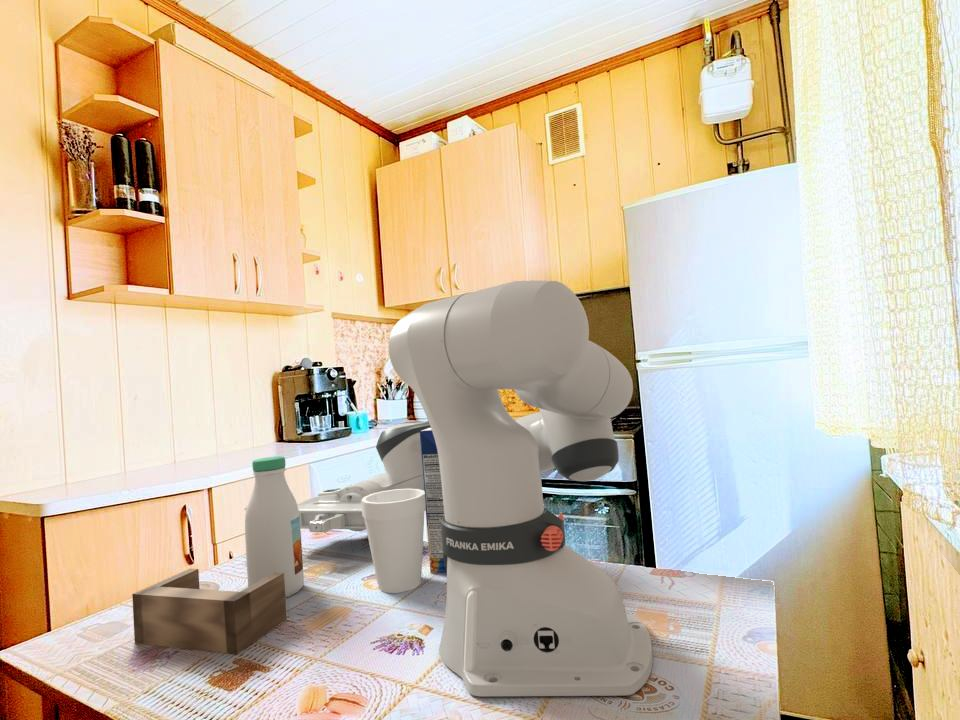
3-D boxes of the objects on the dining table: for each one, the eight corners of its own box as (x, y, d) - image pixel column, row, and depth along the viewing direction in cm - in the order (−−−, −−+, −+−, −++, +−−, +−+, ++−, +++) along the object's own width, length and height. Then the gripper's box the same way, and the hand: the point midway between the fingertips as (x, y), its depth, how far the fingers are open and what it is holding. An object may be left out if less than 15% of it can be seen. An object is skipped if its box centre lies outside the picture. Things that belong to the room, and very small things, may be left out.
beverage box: (430, 573, 77) (419, 431, 78) (451, 549, 88) (441, 424, 89) (472, 574, 76) (461, 428, 77) (488, 549, 86) (478, 421, 87)
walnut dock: (286, 619, 65) (283, 572, 65) (237, 654, 57) (234, 601, 57) (192, 611, 70) (190, 568, 70) (134, 642, 62) (132, 593, 62)
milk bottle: (285, 603, 70) (276, 461, 71) (236, 603, 72) (228, 463, 73) (313, 581, 78) (305, 452, 79) (269, 581, 79) (262, 455, 80)
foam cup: (412, 600, 68) (405, 504, 69) (355, 595, 71) (348, 503, 72) (441, 573, 77) (435, 488, 78) (389, 570, 80) (383, 488, 81)
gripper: (408, 523, 95) (371, 547, 82) (317, 522, 101) (269, 545, 88) (406, 489, 95) (368, 508, 82) (315, 490, 101) (266, 508, 88)
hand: (316, 527), depth 85 cm, fingers closed
